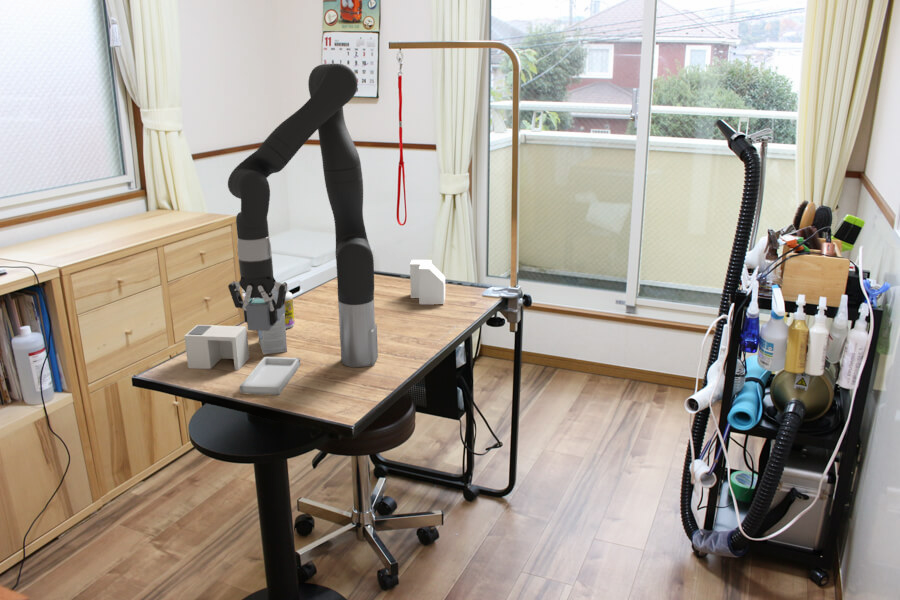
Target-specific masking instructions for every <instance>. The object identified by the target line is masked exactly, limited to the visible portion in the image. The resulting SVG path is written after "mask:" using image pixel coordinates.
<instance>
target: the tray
mask: <svg viewBox="0 0 900 600" xmlns="http://www.w3.org/2000/svg"><path fill="white" fill-rule="evenodd" d="M300 367H301V358H300V357H284V356H283V357H282V356H281V357H280V356H264V357H263V358H261V360H260V361H259V363H257V365H256V366H255V367H254V369H253V370H252V371H250V373H249V375H248V376H247V377H246V378H245V379H244V380H243V381H242V383H241V384H240V385H239V391H240V394H241V393H249V394H248V395H265V394H271V396H280V395H281V393H282V392H283V390H284V389H285V387H286V386H287V385H288V384H289V382H290V380H291V379H292V378H293V376H294V375H295V373H296V372H297V371H298V369H299V368H300Z"/></svg>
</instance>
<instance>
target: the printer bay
mask: <svg viewBox="0 0 900 600" xmlns="http://www.w3.org/2000/svg"><path fill="white" fill-rule="evenodd" d="M183 337H184V345H185V353H186V360H187V368H188V369H203V370H206V369H207V370H211V369H212V368H213V367H214V366H215V365H216V364H217V363H219V361H220V360H221V359H230V360H231V359H232V360H233V363H234V370H235V371H238V370H241V368H242V367H243V366H244V365H245V363H246V362H247V361H248V360H249V359H250V350H249V341H248V340H249V339H248V326H246V325H245V326H244V325H243V326H242V325H216V324H215V325H212V324H211V325H210V324H196V325H195V326H194V327H192V329H191V330H189V331H188V332H187V333H185V334H184V336H183Z"/></svg>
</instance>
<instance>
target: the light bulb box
mask: <svg viewBox="0 0 900 600" xmlns="http://www.w3.org/2000/svg"><path fill="white" fill-rule="evenodd" d="M286 330H287V329H285V314H283V316H282V317H281V318H280V319H279V320H278V321H277V322H276V323H275V324H274V326H273V327H272V328H271V329H270V330H269V331H260V330H257V331H258V333H257V334H258V343H259V345H260V349H261V351H262V354H263V355H270V354H278V353H285V352H288V347H287V332H286Z"/></svg>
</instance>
